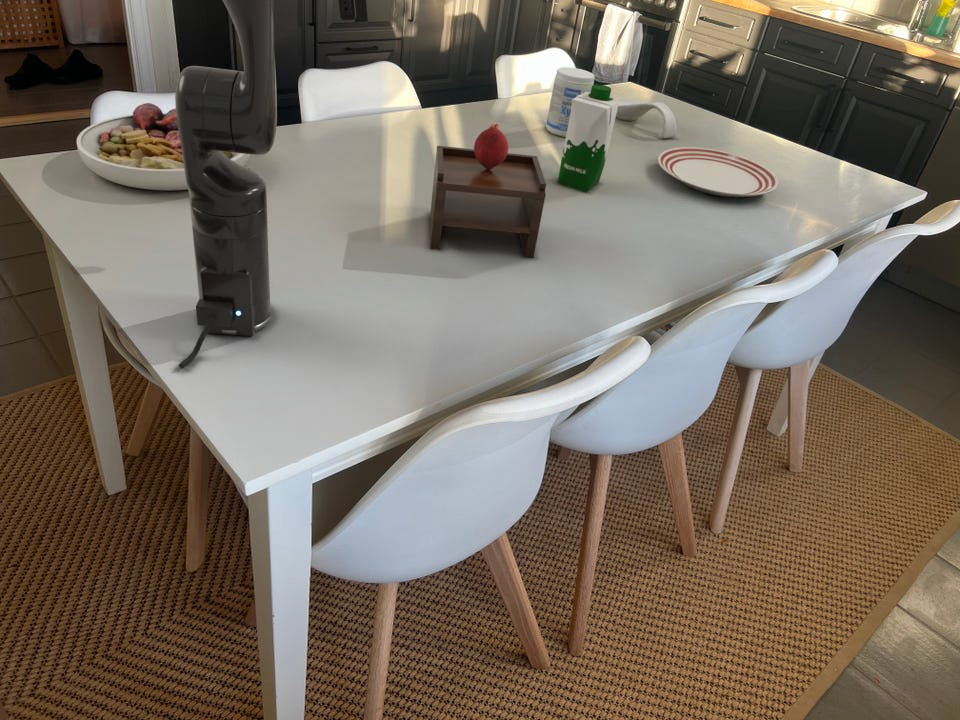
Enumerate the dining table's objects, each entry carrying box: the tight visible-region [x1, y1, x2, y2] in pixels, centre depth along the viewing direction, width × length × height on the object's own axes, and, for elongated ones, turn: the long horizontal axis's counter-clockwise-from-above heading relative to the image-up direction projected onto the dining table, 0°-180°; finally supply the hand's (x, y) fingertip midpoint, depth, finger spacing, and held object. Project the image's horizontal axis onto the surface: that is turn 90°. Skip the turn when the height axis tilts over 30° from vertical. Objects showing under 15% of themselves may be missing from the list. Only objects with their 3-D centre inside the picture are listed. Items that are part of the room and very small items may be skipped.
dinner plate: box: [657, 146, 779, 198], centre depth 174 cm, size 27×27×3 cm
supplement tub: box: [545, 66, 595, 138], centre depth 187 cm, size 10×10×15 cm
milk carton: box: [557, 84, 619, 193], centre depth 157 cm, size 9×9×20 cm
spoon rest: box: [612, 97, 678, 139], centre depth 203 cm, size 24×12×7 cm, turn 34°
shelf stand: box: [429, 145, 547, 259], centre depth 132 cm, size 14×18×13 cm
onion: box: [473, 122, 509, 170], centre depth 128 cm, size 6×6×8 cm
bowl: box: [76, 102, 251, 191], centre depth 141 cm, size 30×30×8 cm
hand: (355, 21), depth 113 cm, fingers open, 8 cm apart
